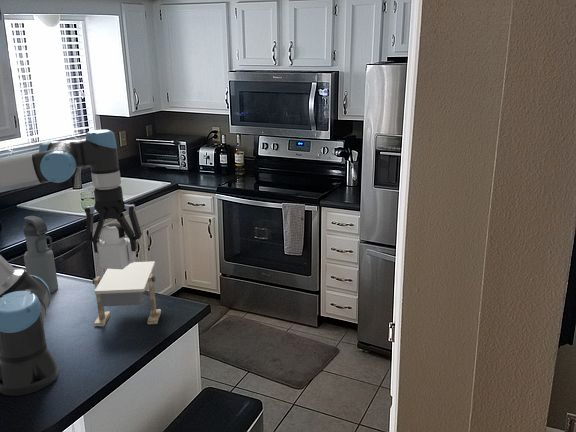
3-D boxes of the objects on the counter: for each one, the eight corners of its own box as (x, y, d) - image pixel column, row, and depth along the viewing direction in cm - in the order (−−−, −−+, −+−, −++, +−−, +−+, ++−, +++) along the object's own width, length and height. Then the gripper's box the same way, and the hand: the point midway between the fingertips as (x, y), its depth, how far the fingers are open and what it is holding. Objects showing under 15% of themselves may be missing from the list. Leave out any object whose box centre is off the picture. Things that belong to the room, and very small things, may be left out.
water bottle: (64, 288, 203) (53, 216, 195) (40, 298, 195) (28, 224, 187) (48, 282, 208) (37, 212, 200) (24, 292, 201) (11, 219, 192)
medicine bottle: (112, 259, 163) (107, 221, 160) (134, 260, 162) (130, 222, 158) (100, 268, 157) (94, 228, 153) (122, 269, 155) (117, 230, 152)
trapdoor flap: (145, 304, 171) (143, 289, 169) (96, 306, 170) (94, 291, 168) (156, 275, 190) (154, 261, 189) (112, 277, 189) (110, 263, 188)
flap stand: (157, 323, 176) (153, 281, 171) (94, 326, 175) (88, 283, 170) (161, 312, 183) (157, 271, 179) (101, 315, 182) (95, 273, 178)
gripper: (147, 181, 156) (156, 255, 163) (74, 184, 156) (85, 258, 162) (141, 188, 149) (150, 265, 156) (64, 190, 148) (76, 268, 155)
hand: (117, 261), depth 159 cm, fingers closed on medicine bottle, 8 cm apart
